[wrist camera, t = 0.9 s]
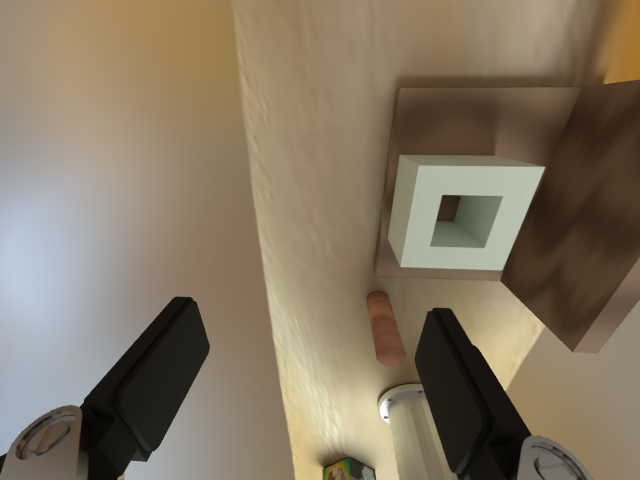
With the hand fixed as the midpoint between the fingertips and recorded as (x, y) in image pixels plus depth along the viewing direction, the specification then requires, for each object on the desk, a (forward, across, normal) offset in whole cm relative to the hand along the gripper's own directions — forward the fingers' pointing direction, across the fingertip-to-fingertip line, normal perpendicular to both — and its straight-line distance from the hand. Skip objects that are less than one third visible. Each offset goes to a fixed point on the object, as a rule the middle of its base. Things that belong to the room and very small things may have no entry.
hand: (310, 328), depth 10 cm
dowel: (+19, -8, +15) cm, 26 cm away
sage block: (+18, -12, 0) cm, 21 cm away
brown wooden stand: (+19, -16, 0) cm, 25 cm away
